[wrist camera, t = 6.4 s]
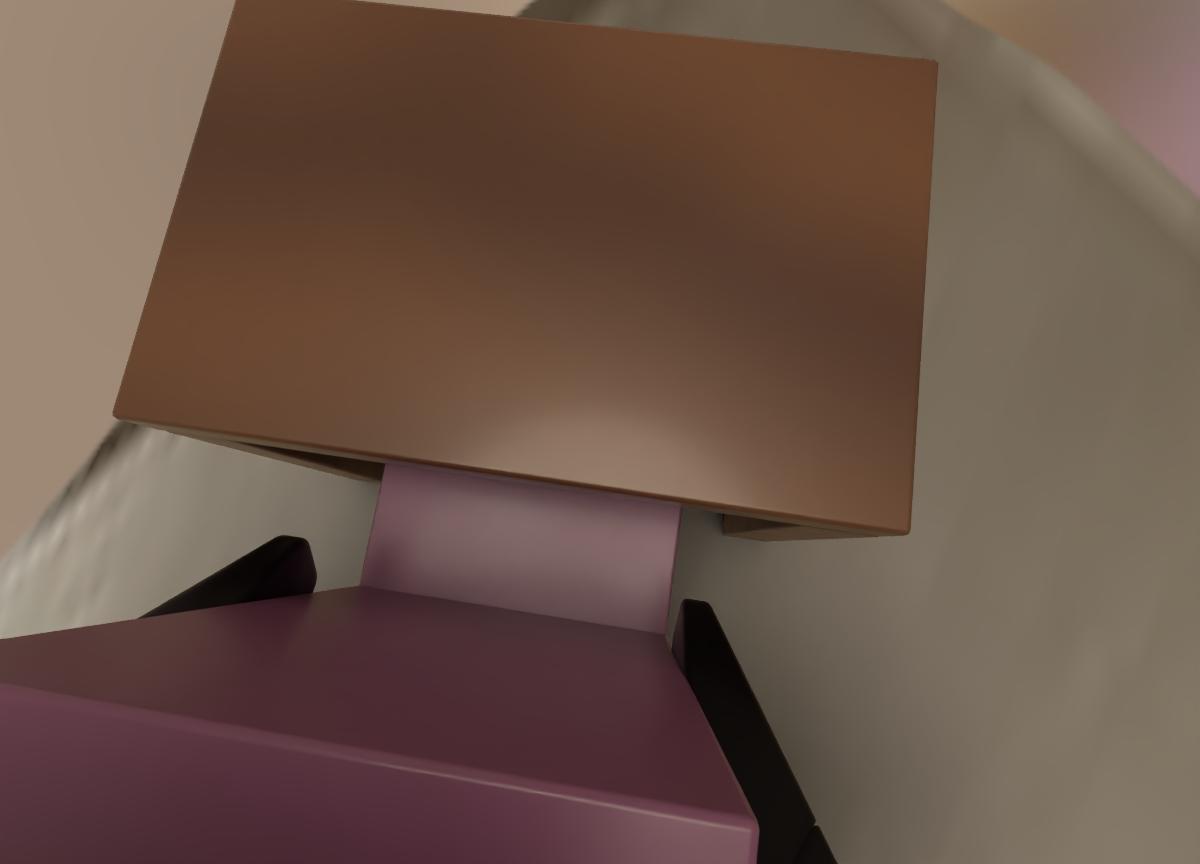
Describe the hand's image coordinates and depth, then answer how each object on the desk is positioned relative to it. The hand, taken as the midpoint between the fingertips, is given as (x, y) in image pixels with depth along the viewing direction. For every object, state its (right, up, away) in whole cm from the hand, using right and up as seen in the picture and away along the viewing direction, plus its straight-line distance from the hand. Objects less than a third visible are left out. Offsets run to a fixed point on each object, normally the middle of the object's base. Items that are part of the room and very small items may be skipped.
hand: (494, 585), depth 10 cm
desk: (+1, +4, +8) cm, 9 cm away
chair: (0, -1, +7) cm, 7 cm away
